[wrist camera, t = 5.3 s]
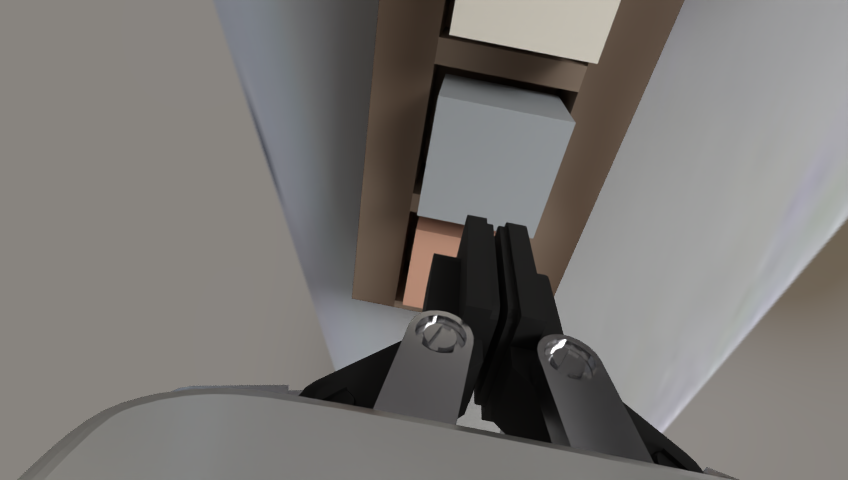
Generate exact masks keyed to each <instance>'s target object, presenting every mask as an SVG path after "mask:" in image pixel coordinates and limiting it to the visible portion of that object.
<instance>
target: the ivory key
mask: <svg viewBox="0 0 848 480" xmlns="http://www.w3.org/2000/svg"><path fill="white" fill-rule="evenodd" d="M620 1H621V0H455V5H454V11H453V16H452V22H451V27H450V33H449V35H453V36H458V37H463V38H468V39H474V40H479V41H484V42H489V43H494V44H499V45H504V46H509V47H514V48H519V49H524V50H529V51H534V52H539V53H544V54H550V55H555V56H560V57H565V58H570V59H575V60H580V61H585V62H590V63H595V64H598V61H599V58H600V56H601V53H602V50H603V48H604V45H605V42H606V39H607V37H608V34H609V31H610V29H611V26H612V23H613V20H614V18H615V15H616V12H617V10H618V7H619V4H620Z"/></svg>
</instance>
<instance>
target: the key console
mask: <svg viewBox="0 0 848 480" xmlns="http://www.w3.org/2000/svg"><path fill="white" fill-rule="evenodd" d="M683 2H684V0H621V1H620V4H619V7H618V10H617V12H616V15H615V18H614V20H613V23H612V26H611V29H610V31H609V34H608V37H607V39H606V42H605V45H604V48H603V50H602V53H601V56H600V58H599V61H598V64H595V63H590V62H585V61H580V60H575V59H570V58H565V57H560V56H555V55H550V54H544V53H539V52H534V51H529V50H524V49H519V48H514V47H509V46H504V45H499V44H494V43H489V42H484V41H479V40H474V39H468V38H463V37H458V36H453V35H449V33H450V27H451V22H452V16H453V11H454V5H455V0H379V8H378V19H377V30H376V41H375V52H374V63H373V74H372V85H371V96H370V107H369V117H368V128H367V139H366V150H365V161H364V172H363V183H362V194H361V205H360V216H359V227H358V238H357V249H356V260H355V271H354V282H353V293H352V298H353V299H358V300H363V301H368V302H372V303H377V304H382V305H387V306H392V307H397V308H402V309H407V310H412V311H417V312H422V310H423V309H422V308H417V307H412V306H407V305H403V299H404V294H405V288H406V283H407V277H408V272H409V266H410V261H411V255H412V249H413V244H414V238H415V233H416V228H417V224H418V220H419V216H418V215H417V212H418V207H419V201H420V196H421V190H422V184H423V179H424V173H425V168H426V162H427V156H428V151H429V145H430V140H431V134H432V128H433V123H434V117H435V112H436V106H437V100H438V95H439V92H440V89H441V86H442V83H443V80H444V77H445V74H451V75H456V76H461V77H466V78H471V79H476V80H481V81H486V82H491V83H496V84H501V85H507V86H512V87H517V88H522V89H527V90H532V91H537V92H542V93H547V94H552V95H557V96H559V98H560V99H561V101H562V103H563V104H564V106H565V107H566V109H567V110H568V112H569V113H570V115H571V116H572V118H573V119H574V121H575V123H576V124H575V126H574V129H573V132H572V134H571V137H570V140H569V143H568V145H567V148H566V151H565V154H564V156H563V159H562V162H561V164H560V167H559V170H558V173H557V175H556V178H555V181H554V183H553V186H552V189H551V192H550V194H549V197H548V200H547V202H546V205H545V208H544V211H543V213H542V216H541V219H540V221H539V224H538V227H537V230H536V232H535V235H534V238H529V239H530V243H531V248H532V252H533V257H534V261H535V266H536V270H537V273H538V274H544V275H547V276H548V278H549V280H550V284H551V288H552V292H553V296H554V295H555V293H556V290H557V288H558V286H559V284H560V281H561V279H562V277H563V275H564V272H565V270H566V268H567V265H568V263H569V261H570V259H571V256H572V254H573V252H574V250H575V247H576V245H577V243H578V241H579V238H580V236H581V234H582V231H583V229H584V227H585V225H586V222H587V220H588V218H589V216H590V213H591V211H592V209H593V207H594V204H595V202H596V200H597V197H598V195H599V193H600V191H601V188H602V186H603V184H604V182H605V179H606V177H607V175H608V172H609V170H610V168H611V166H612V163H613V161H614V159H615V157H616V154H617V152H618V150H619V148H620V145H621V143H622V141H623V138H624V136H625V134H626V132H627V129H628V127H629V125H630V123H631V120H632V118H633V116H634V113H635V111H636V109H637V107H638V104H639V102H640V100H641V98H642V95H643V93H644V91H645V89H646V86H647V84H648V82H649V79H650V77H651V75H652V73H653V70H654V68H655V66H656V64H657V61H658V59H659V57H660V54H661V52H662V50H663V48H664V45H665V43H666V41H667V39H668V36H669V34H670V32H671V30H672V27H673V25H674V23H675V20H676V18H677V16H678V14H679V11H680V9H681V7H682V5H683Z"/></svg>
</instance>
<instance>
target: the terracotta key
mask: <svg viewBox="0 0 848 480" xmlns="http://www.w3.org/2000/svg"><path fill="white" fill-rule="evenodd" d="M463 229H464V225H463V224H458V223H453V222H448V221H443V220H438V219H433V218H428V217H423V216H419V220H418V224H417V228H416V233H415V238H414V244H413V249H412V255H411V261H410V266H409V272H408V277H407V283H406V288H405V294H404V299H403V305H407V306H412V307H417V308H422V309H423V303H424V298H425V292H426V287H427V282H428V277H429V272H430V268H431V263H432V258H433V254H434V253H436V254H442V255H447V256H452V257H457V253H458V249H459V245H460V241H461V237H462V233H463ZM495 233H496V231H494V236H495Z"/></svg>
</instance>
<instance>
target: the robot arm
mask: <svg viewBox="0 0 848 480" xmlns="http://www.w3.org/2000/svg"><path fill="white" fill-rule="evenodd" d="M288 389H289V386H288V385H239V386H189V387H183V388H178V389H176V390H174V391H171V392H167V393H159V394H154V395H149V396H145V397H141V398H137V399H134V400H130V401H127V402H123V403H120V404H118V405H116V406H114V407H111V408H109V409H106V410H104V411H102V412H100V413H98V414H97V415H95V416H93V417H92V418H90V419H88V420H86V421H85V422H84V423H82V424H81V425H80V426H78V427H77V428H75V429H74V430H73V431H71V432H70V433H69V434H67V435H66V436H65V437H64V438H63V439H61V440H60V441H59V442H58V443H57V444H55V445H54V446H53V447H52V448H51V449H50V450H49V451H48V452H46V453H45V454H44V455H43V456H42V457H41V458H40V459H39V460H38V461H37V462H35V463H34V464H33V465H32V466H31V467H30V468H29V469H28V470H27V471H26V472H25V473H24V474H23V475H22V476H21V477H20V478H19V479H18V480H739V479H736V478H734V477H731V476H729V475H726V474H723V473H721V472H718V471H716V470H713V469H711V468H708V467H707V468H706V469H705V470H704V471H702V470H701V468H700V467H699V466H698V465H697V463H696V462H695V461H694V460H693V459H692V458H691V457H690V456H688V455H687V454H686V453H685V452H684V451H683V450H681V449H680V448H679V447H678V446H677V445H675V444H674V443H673V442H672V441H670V440H669V439H667V437H665V436H664V435H663V434H662V433H660V432H659V431H658V430H657V429H655V428H654V427H653V426H652V425H650V424H649V423H648V422H647V421H646V420H644V419H643V418H642V417H641V416H639V415H638V414H637V413H636V412H634V411H633V410H632V409H631V408H629V407H628V406H627V405H626V404H624V403H623V402H622V400H621V398H620V396H619V394H618V392H617V390H616V388H615V386H614V384H613V383H612V381H611V379H610V377H609V375H608V373H607V371H606V369H605V367H604V365H603V363H602V361H601V360H600V358H599V357H598V355H597V354H596V353H595V352H594V351H593V350H592V349H591V348H590V347H589V346H587V345H586V344H584V343H583V342H581V341H580V340H577V339H575V338H573V337H570V336H566V335H564V334H563V331H562V327H561V323H560V319H559V315H558V311H557V307H556V304H555V300H554V296H553V292H552V288H551V284H550V280H549V278H548V276H547V275H544V274H538V273H537V270H536V266H535V261H534V257H533V252H532V248H531V243H530V239H529V234H528V230H527V227H526V226H524V225H519V224H514V223H509V222H507V223H506V224H505V226H504V227H503V226H498V227H497V230H496V233H495V236H494V227H493V224H488V223H487V218H483V217H478V216H473V215H467V218H466V221H465V225H464V229H463V233H462V237H461V241H460V245H459V249H458V253H457V257H452V256H447V255H442V254H436V253H434V254H433V258H432V263H431V268H430V272H429V277H428V282H427V287H426V292H425V298H424V303H423V310H422V313H419V314H418V315H416V316H415V317H413V319H412V320H411V322H410V323H409V325H408V328H407V330H406V332H405V335H404V337H403V339H402V341H400V342H398V343H395V344H393V345H391V346H389V347H387V348H385V349H383V350H381V351H378V352H376V353H374V354H372V355H370V356H368V357H366V358H363V359H361V360H359V361H357V362H355V363H353V364H351V365H348V366H346V367H344V368H342V369H340V370H338V371H336V372H334V373H332V374H329V375H327V376H325V377H323V378H321V379H319V380H316V381H315V382H313V383H312V384H310V385H308V386H307V387H306V388H305V389H304V390H292V391H291V390H288ZM473 391H474V402H475V404H476V405H481V412H482V420H486V421H491V422H494V423H495V424H496V425H497V426H498V427H499V428H500V429H501V431H500V433H495V432H490V431H485V430H480V429H475V428H470V427H464V426H459V425H456V423H457V419H458V418H460V417H461V416H463V415H464V414H465V411H466V409H467V406H468V403H469V402H470V399H471V396H472V394H473Z"/></svg>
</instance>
